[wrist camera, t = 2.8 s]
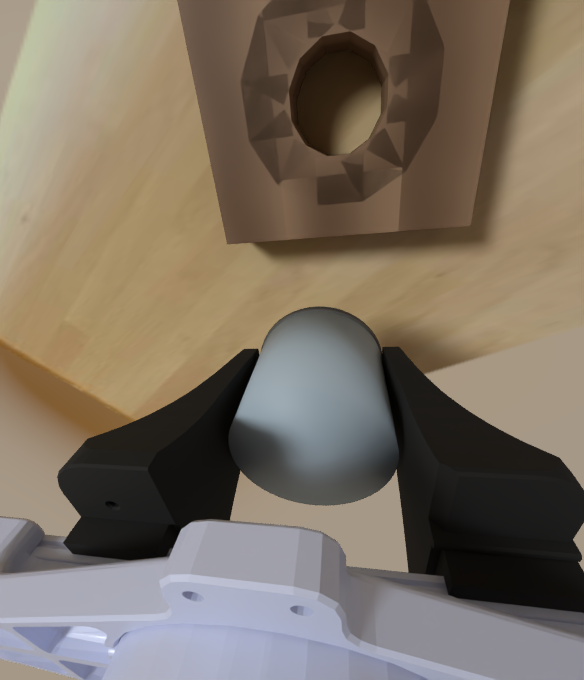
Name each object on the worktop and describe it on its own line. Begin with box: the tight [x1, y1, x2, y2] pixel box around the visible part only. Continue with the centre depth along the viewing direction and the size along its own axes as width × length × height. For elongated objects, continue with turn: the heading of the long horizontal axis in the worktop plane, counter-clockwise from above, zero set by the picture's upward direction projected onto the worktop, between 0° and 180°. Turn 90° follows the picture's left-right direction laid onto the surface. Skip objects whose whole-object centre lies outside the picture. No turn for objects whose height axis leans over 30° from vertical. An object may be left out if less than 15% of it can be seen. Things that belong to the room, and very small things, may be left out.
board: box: [177, 0, 510, 244], centre depth 14 cm, size 12×11×2 cm
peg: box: [228, 307, 399, 505], centre depth 12 cm, size 5×5×7 cm
